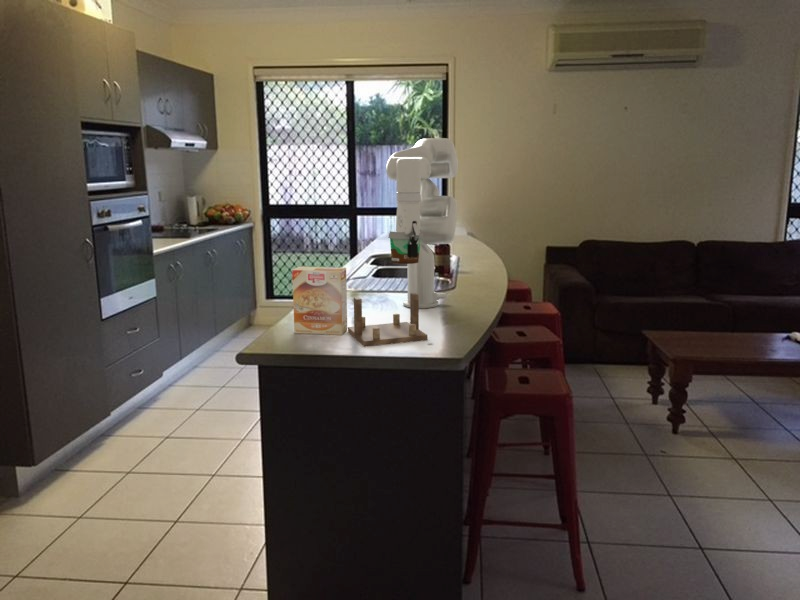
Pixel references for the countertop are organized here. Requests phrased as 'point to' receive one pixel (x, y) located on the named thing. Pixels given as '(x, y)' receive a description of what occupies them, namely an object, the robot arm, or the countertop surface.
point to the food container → (402, 247)
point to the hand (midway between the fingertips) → (408, 255)
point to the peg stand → (387, 326)
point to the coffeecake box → (320, 300)
